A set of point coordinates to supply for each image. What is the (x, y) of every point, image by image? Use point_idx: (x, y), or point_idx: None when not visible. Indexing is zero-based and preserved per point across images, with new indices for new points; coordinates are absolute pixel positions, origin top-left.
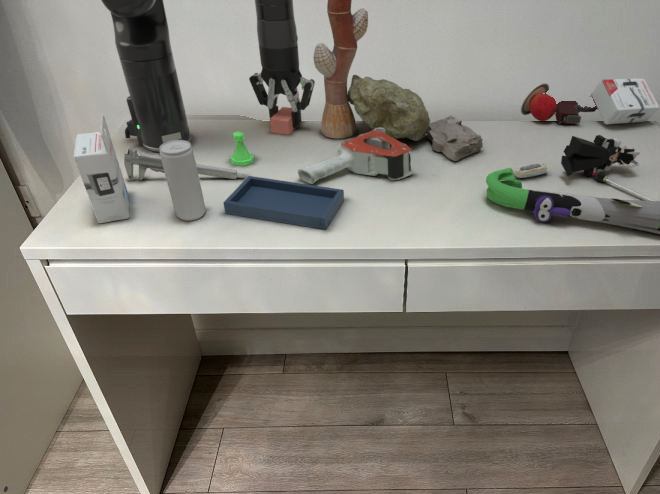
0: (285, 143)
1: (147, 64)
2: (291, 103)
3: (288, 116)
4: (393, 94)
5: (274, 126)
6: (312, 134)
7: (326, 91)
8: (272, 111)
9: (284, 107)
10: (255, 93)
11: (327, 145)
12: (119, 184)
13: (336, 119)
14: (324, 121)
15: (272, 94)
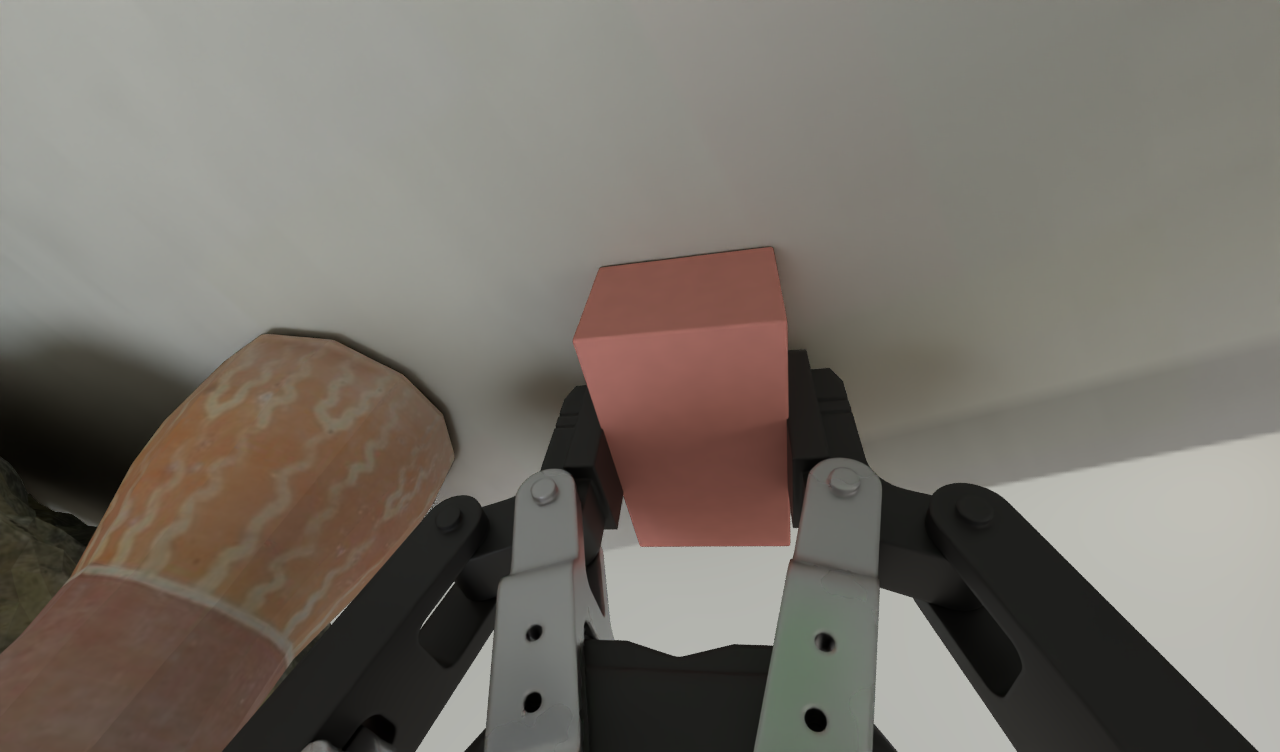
0: (509, 88)
1: None
2: (560, 544)
3: (635, 427)
4: None
5: (731, 282)
6: (455, 343)
7: (60, 732)
8: (809, 441)
9: (769, 540)
10: (1125, 625)
11: (213, 225)
12: None
13: (150, 451)
14: (296, 431)
15: (795, 631)
